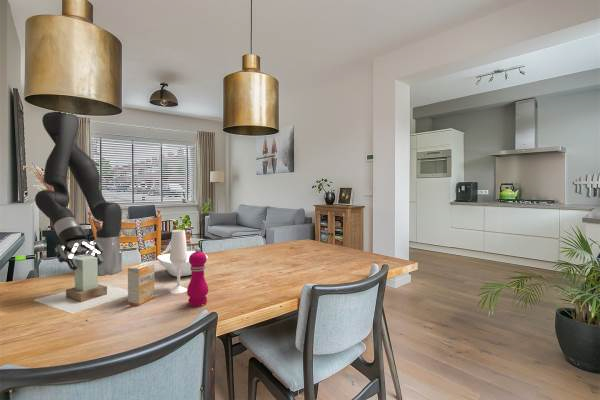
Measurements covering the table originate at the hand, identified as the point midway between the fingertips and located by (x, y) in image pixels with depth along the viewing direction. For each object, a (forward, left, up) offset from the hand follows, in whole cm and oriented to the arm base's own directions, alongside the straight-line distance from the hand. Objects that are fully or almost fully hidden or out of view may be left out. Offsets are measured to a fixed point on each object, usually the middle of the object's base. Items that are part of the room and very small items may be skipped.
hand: (88, 266), depth 110 cm
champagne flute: (-22, +21, -12) cm, 33 cm away
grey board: (0, -1, -12) cm, 12 cm away
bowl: (-39, +5, -12) cm, 41 cm away
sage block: (0, -1, -8) cm, 8 cm away
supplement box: (-8, +18, -12) cm, 23 cm away
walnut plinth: (0, -1, -11) cm, 11 cm away
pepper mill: (-16, +37, -12) cm, 42 cm away
